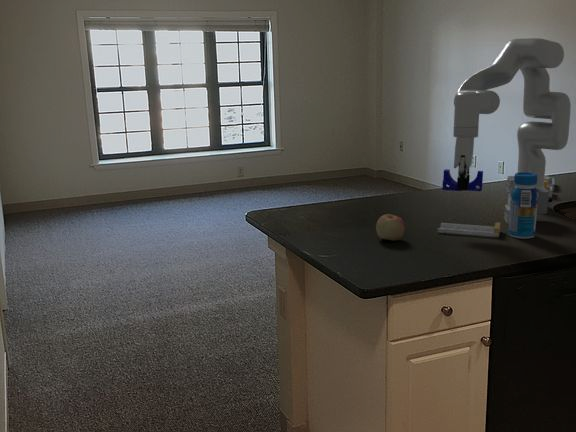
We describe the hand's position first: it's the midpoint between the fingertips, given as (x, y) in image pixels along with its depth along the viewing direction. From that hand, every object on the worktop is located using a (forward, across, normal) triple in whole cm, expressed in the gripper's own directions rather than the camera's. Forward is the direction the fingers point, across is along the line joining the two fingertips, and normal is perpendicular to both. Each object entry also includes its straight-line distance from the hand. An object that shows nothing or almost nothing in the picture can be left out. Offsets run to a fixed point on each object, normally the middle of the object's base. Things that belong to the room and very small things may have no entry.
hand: (463, 187), depth 205 cm
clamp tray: (+15, -62, +20) cm, 67 cm away
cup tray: (+14, -78, +22) cm, 82 cm away
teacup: (+15, -77, +24) cm, 82 cm away
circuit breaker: (+15, -20, +20) cm, 32 cm away
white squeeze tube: (+15, 0, +2) cm, 15 cm away
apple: (+15, +16, -20) cm, 30 cm away
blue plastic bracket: (+1, 0, 0) cm, 1 cm away
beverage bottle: (+15, -1, +19) cm, 24 cm away
